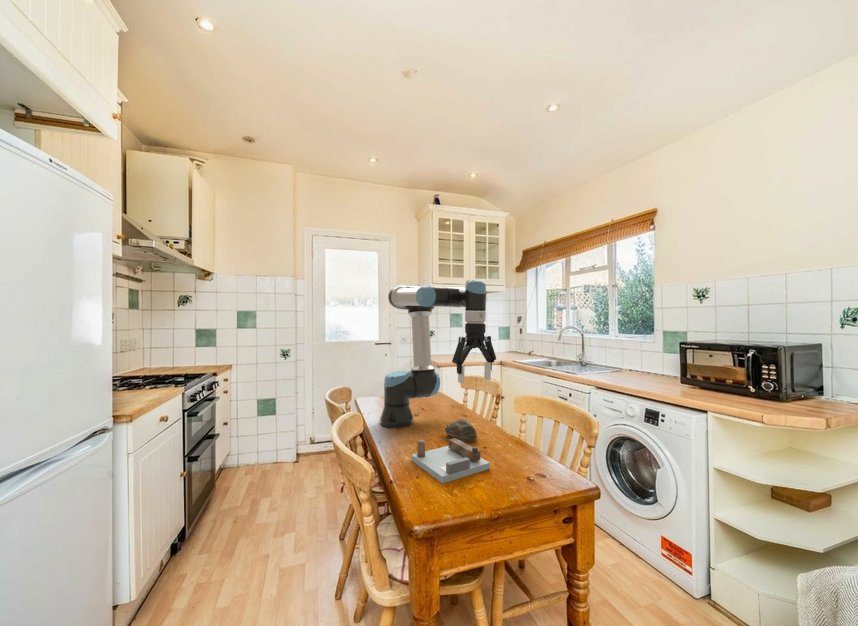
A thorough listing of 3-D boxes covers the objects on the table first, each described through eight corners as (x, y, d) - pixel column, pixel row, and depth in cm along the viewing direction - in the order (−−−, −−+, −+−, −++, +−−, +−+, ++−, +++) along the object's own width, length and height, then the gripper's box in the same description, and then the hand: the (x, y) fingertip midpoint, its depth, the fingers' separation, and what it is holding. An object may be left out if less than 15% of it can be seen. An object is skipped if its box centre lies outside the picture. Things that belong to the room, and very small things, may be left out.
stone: (438, 425, 148) (454, 407, 149) (454, 439, 150) (470, 421, 152) (449, 439, 135) (466, 419, 136) (466, 454, 137) (483, 435, 139)
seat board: (411, 460, 120) (411, 440, 120) (455, 449, 130) (455, 430, 130) (442, 483, 104) (442, 460, 104) (489, 468, 114) (490, 447, 114)
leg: (448, 447, 125) (448, 436, 125) (455, 446, 127) (455, 435, 127) (473, 462, 114) (473, 449, 114) (480, 460, 115) (480, 447, 115)
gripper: (455, 323, 119) (454, 386, 119) (506, 322, 132) (505, 379, 132) (442, 322, 125) (442, 382, 125) (492, 322, 138) (491, 376, 138)
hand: (474, 381), depth 129 cm, fingers open, 12 cm apart
